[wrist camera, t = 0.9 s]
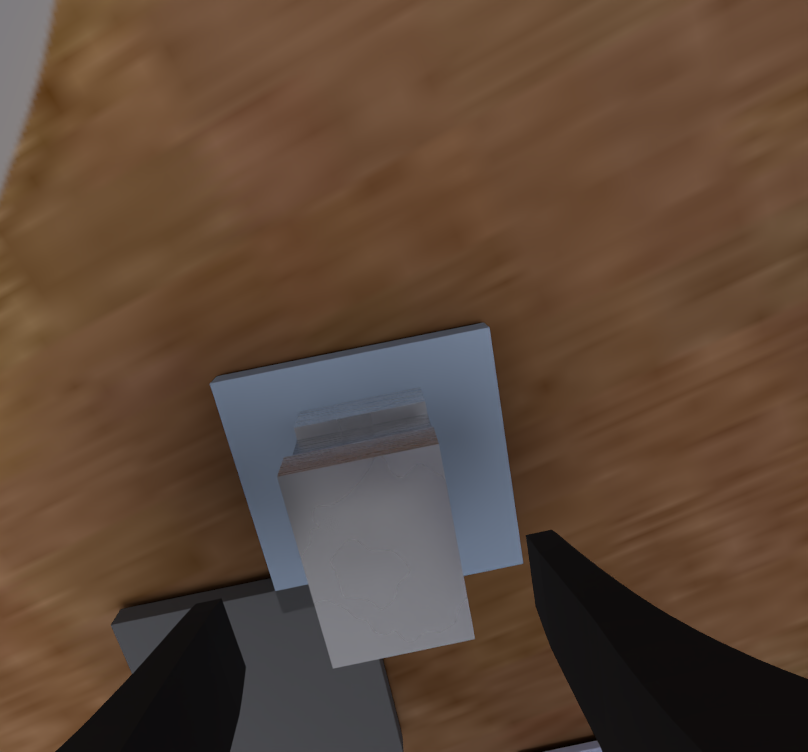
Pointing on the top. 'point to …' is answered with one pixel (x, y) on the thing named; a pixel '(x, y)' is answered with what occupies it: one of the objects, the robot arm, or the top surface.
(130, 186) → the top surface
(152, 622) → the stand
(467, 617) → the block
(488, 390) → the stand
